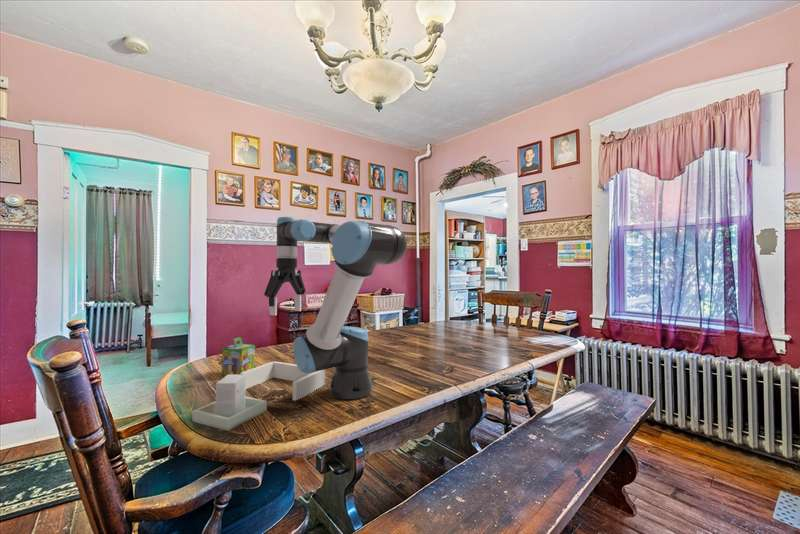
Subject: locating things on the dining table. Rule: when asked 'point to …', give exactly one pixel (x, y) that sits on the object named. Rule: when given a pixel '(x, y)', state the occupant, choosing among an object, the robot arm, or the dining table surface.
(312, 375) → the bay
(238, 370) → the chalk box
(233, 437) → the dining table surface
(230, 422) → the tray
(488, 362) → the dining table surface
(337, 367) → the robot arm
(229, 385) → the small box
